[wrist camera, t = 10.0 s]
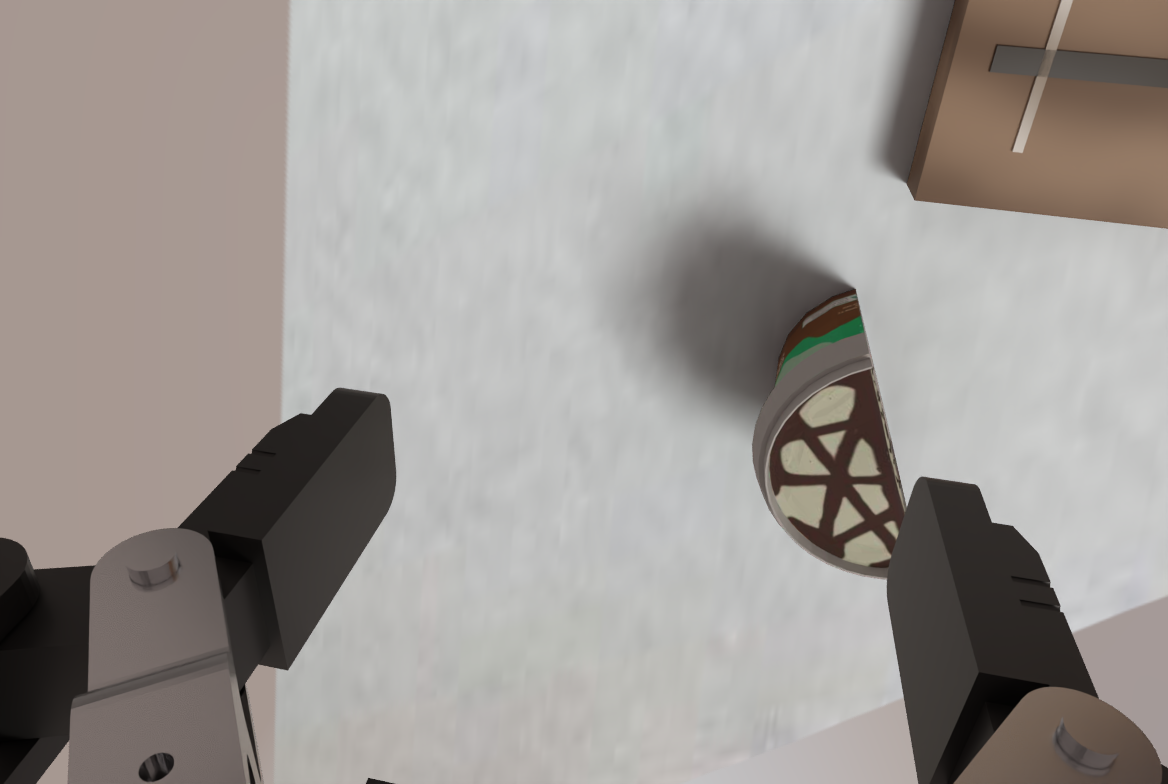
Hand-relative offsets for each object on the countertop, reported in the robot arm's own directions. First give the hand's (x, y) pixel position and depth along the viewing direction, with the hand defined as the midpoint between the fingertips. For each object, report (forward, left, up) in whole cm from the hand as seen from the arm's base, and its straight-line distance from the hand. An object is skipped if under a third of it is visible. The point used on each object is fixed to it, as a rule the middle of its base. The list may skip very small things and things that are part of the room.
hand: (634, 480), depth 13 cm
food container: (+14, +7, -30) cm, 34 cm away
